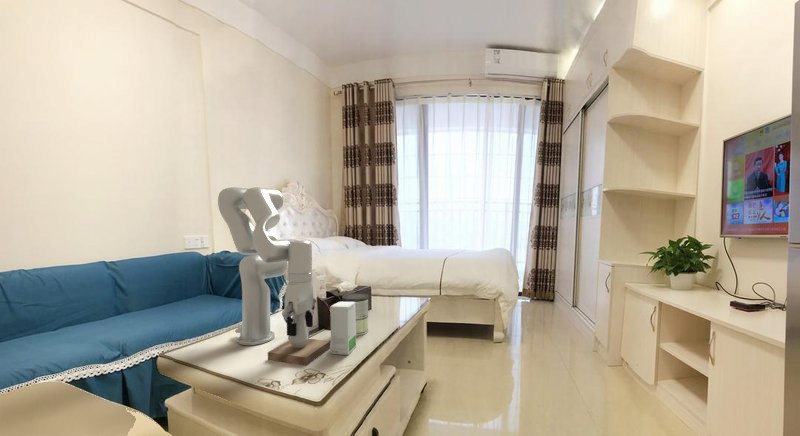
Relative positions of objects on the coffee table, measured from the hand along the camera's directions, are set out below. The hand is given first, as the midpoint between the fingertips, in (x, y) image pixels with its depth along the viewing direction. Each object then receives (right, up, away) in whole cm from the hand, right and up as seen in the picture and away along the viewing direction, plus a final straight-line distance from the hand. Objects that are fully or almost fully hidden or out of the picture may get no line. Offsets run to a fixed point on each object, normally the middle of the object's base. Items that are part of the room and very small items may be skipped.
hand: (300, 330), depth 103 cm
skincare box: (+14, -8, +3) cm, 16 cm away
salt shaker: (-1, -5, 0) cm, 5 cm away
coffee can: (+15, -8, +21) cm, 27 cm away
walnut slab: (0, -8, 0) cm, 8 cm away
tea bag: (-5, -8, +14) cm, 17 cm away
